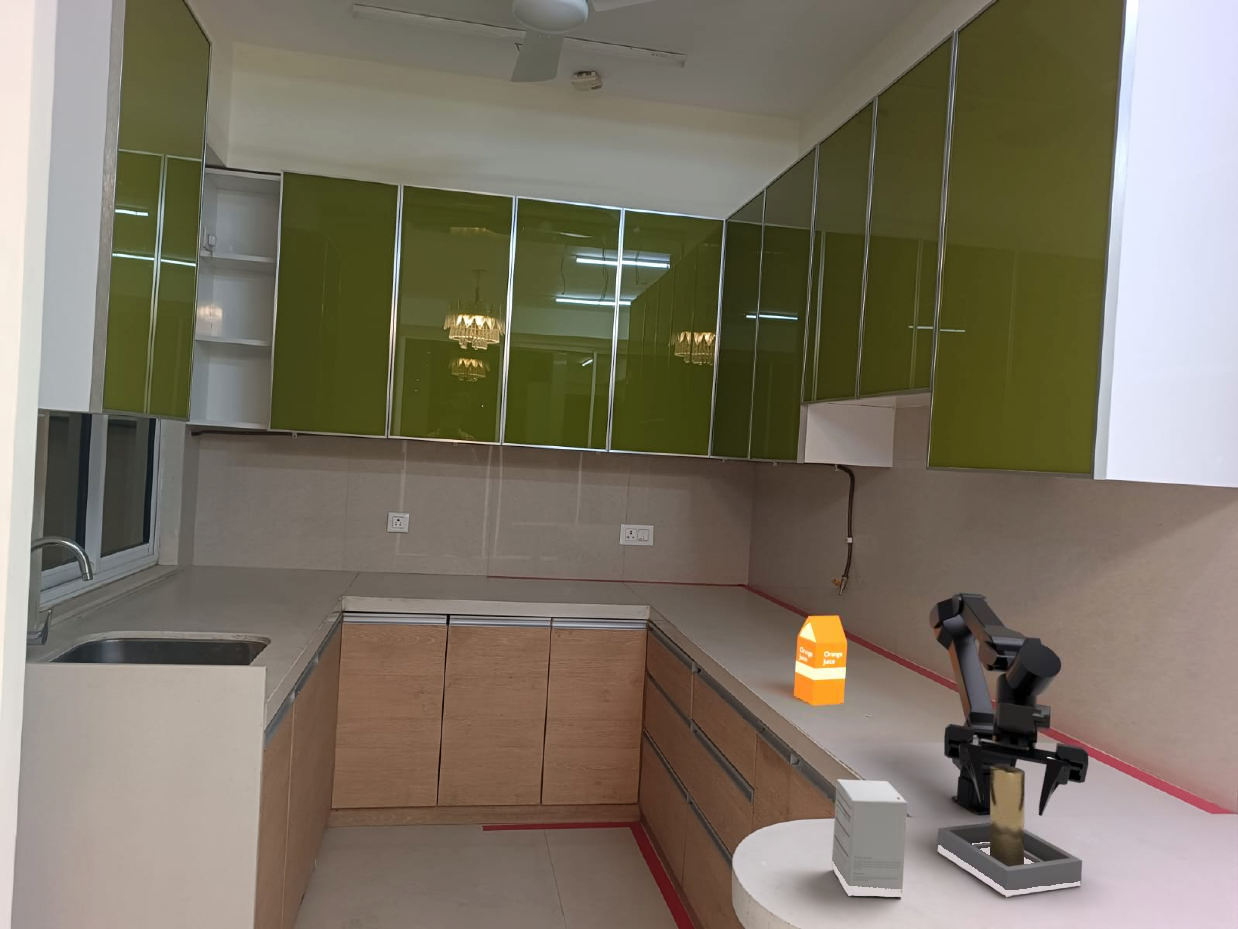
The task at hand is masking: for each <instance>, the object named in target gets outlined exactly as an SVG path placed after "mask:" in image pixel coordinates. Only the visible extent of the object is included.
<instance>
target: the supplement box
mask: <svg viewBox="0 0 1238 929" xmlns="http://www.w3.org/2000/svg"><path fill="white" fill-rule="evenodd" d="M907 816H908V802H907V801H906V799H904V797H903V796H902V795H901V794H900V793H899V792H898V791H897V790H896V789H895V788H894V787H893V786H892V785H891V784H890V782H888V781H887V780H865V779H863V780H862V779H861V780H859V779H841V778H840V779H839V778H838V779H836V786H835V804H834V823H833V824H834V825H833V839H832V853H831V854H832V856H831V857H832V858H831V862H832V861H833V862H834V864H835V866H836V867H837V869H838V871H839V872H840V874H841V875H842V876H843V878H844V879H845V881H846V883H847V884H848V885H849V886H858V887H860V886H861V887H869V888H870V887H873V888H877V887H878V888H885V889H887V888H888V889H889V888H890V889H902V890H903V884H904V882H903V881H904V866H905V852H906V851H905V848H906V834H907V833H906V832H907V819H908V818H907Z"/></svg>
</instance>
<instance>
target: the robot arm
mask: <svg viewBox="0 0 1238 929" xmlns="http://www.w3.org/2000/svg"><path fill="white" fill-rule="evenodd" d="M928 621H929V627H930V628H931V629H932V631H933V633H934V637H935V639H936V641H937V642H938V643H939V644H940V645H942V647H943V648H944V649H945V650H947V651H948V654H949V658H950V663H951V667H952V669H953V671H952V672H953V674H954V678H955V679H954V680H955V682H956V687H957V690H958V695H959V698H960V699H959V700H960V703H961V707H962V710H963V715H964V723H963V725H959V724H955V723H954V724H953V723H949V724H948V725H947V726H945V730H944V737H943V745H944V746H943V748H944V749H943V750H944V756H945V757H946V758H948V759H951V761H952V764H954V766H955V767H956V768H957V769H958V770H959V775H958V777H957V793H956V795H952V796H951V800H952V801H954V802H956V803H957V804H959V805H960V806H962V807H964V808H966V809H968V810H970V811H971V812H973V813H975V814H977V815H986V814H988V815H989V814H990V783H991V766H994V765H1005V766H1011V767H1016V765H1017V761H1018V760H1020V761H1025V762H1029V763H1035V764H1036V763H1037V764H1041V765H1046V766H1045V769H1044V770H1045V772H1044V777H1043V780H1042V787H1041V792H1040V798H1039V804H1038V816H1041V817H1042V816H1043V815H1044V812H1045V810H1046V808H1047V806H1048V804H1049V801H1050V800H1051V797H1052V795H1053V794H1054V792H1056V790H1057V788H1058V787H1059V786H1060V785H1062V786H1063V785H1064V786H1066V785H1068V783H1069V782H1072V783H1078V784H1080V783H1085V782H1086V777H1087V773H1088V769H1089V752H1088V751H1087V750H1086V749H1085V748H1084V746H1078V745H1073V744H1066V743H1061V742H1056V746H1055V751H1052V750H1045V749H1040V748H1036V744H1037V743H1038V733H1039V732H1038V731H1039V730H1043V731H1048V732H1049V730H1050V727H1051V706H1049V705H1043V704H1038V696H1040V695H1042V694H1043V693H1044V692H1046V690H1047V689H1048V687H1050V685H1051V683H1052V682H1053V681H1054V679H1055V678H1056V677H1057V676H1058V674H1059V673H1060V671H1061V669H1062V662H1061V658H1060V656H1058V655H1057V654H1056V653H1055V651H1054V650H1053V649H1051V648H1049V646H1046V645H1044V644H1043V643H1042V641H1041V638H1040V637H1031V636H1026V635H1024V634H1023V633H1021V632H1020V631H1016V630H1013V629H1011V628H1008V627H1006V626H1005V624H1004V623H1003V622H1002V620H1001V619H1000V618H999V617H998V616H997V614H996V613H995V612H994V610H993V609H992V608H991V607H990V605H989V604H988V601H987V598H986V596H984V595H982V594H980V593H972V592H971V593H970V592H958V593H954V595H953V596H951V597H950V598H947V599H944V600H942V601H939V602H937V603H936V604H935V605H934V606H933V607H932V609H931V610H930V612H929V618H928ZM976 640H977V641H978V643H979V644H978V649H977V645H976ZM983 667H984V669H985V670H986V671H988V672H996V673H997V672H999V673H1001V674H1000V675H998V676H997V678H996V684H995V686H996V687H995V702H994V706H993V702H992V699H991V696H990V692H989V689H988V685H987V682H986V679H985V678H986V677H985V674H984V670H983Z"/></svg>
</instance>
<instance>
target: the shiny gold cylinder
mask: <svg viewBox="0 0 1238 929" xmlns="http://www.w3.org/2000/svg"><path fill="white" fill-rule="evenodd" d="M1025 778H1026V773H1025V770H1023V769H1021V768H1019V767H1016V766H1015V767H1011V766H1005V765H994V766H991V783H990V813H989V822H990V856H991V857H993V858H995V859H996V860H998V861H999V862H1001V863H1003V864H1004V865H1006V866H1008V867H1009V866H1016V865H1024V829H1025V810H1026V809H1025V803H1026V801H1025V800H1026V799H1025V797H1026V796H1025V795H1026V794H1025V793H1026V791H1025V788H1026V787H1025V785H1026V784H1025V783H1026V781H1025V780H1026V779H1025Z"/></svg>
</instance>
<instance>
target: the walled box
mask: <svg viewBox="0 0 1238 929" xmlns="http://www.w3.org/2000/svg"><path fill="white" fill-rule="evenodd" d="M937 830H938V831H937V832H938V833H937V846H938V845H941V846H942V847H943V848H944V849H946V850H948V851H949V852H951V853H953V854H954V855H956V856H957V857H958V858H960V859H961V860H963V861H964V862H966V863H968V864H969V865H971V866H972V867H974V868H975V869H977V870H978V871H979V872H981V873H983V874H984V875H985V876H987V877H989V878H990V879H992V880H993V881H994V882H995V883H997V884H999V885H1000V886H1002V887H1003V888H1004V889H1005V890H1019V889H1027V888H1032V887H1038V886H1051V885H1056V884H1063V883H1074V882H1078V881H1081V882H1082V871H1083V860H1082V859H1080V858H1079V857H1077V856H1075V855H1073V854H1071V853H1069V852H1068V851H1065V850H1063V849H1062V848H1060V847H1058V846H1056V845H1054V844H1052V843H1051V842H1049V841H1047V840H1045V839H1044V838H1041V837H1040V836H1038V835H1036V834H1034V833H1033V832H1031V831H1029V830H1027V829H1025V828H1024V857H1025V858H1026V859H1029V860H1031V861H1032V862H1034V863H1031V864H1024V865H1016V866H1009V867H1008V866H1006V865H1004V864H1003V863H1001V862H999V861H998V860H996V859H995V858H993V857H991V856H990V855H988V854H986V853H985V852H983V851H982V850H980V849H981V848H988V847H990V843H982V844H974V845H972V843H980V842H990V821H989V822H988V821H987V822H981V823H974V824H965V825H955V826H954V825H953V826H946V827H939V828H938V829H937Z"/></svg>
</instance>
